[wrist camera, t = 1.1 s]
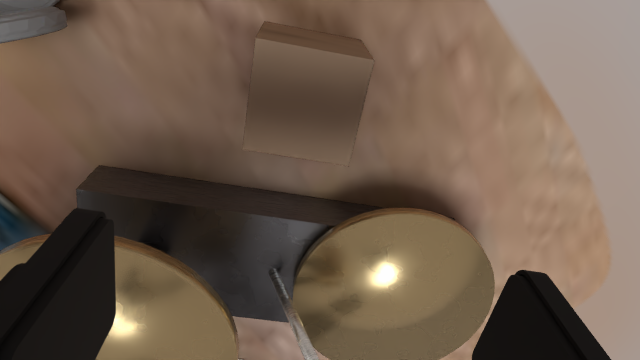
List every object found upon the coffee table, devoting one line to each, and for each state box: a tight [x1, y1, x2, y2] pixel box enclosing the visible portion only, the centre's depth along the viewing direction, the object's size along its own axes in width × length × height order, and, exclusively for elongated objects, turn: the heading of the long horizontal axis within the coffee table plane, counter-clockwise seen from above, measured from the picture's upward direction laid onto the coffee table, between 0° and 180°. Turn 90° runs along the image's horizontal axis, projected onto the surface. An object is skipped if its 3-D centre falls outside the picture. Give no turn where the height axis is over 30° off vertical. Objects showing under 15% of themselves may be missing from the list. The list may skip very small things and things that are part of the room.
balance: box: [0, 165, 495, 360], centre depth 29 cm, size 14×31×12 cm, turn 79°
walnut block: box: [242, 22, 374, 166], centre depth 26 cm, size 6×6×6 cm
